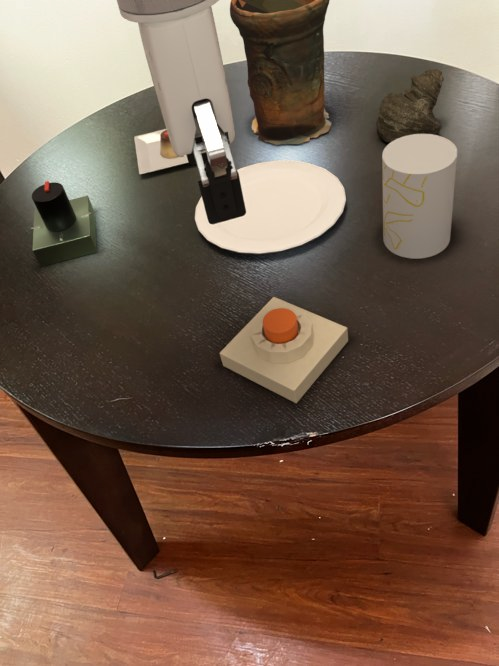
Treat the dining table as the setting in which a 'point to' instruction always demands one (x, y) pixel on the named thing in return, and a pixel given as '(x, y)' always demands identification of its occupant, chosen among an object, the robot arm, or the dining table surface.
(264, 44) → the vessel
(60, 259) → the dial panel
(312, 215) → the plate
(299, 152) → the dining table surface
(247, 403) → the dining table surface
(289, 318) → the button
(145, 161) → the dessert
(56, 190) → the dial
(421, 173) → the white patterned cylinder
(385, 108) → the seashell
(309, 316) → the square push button base
